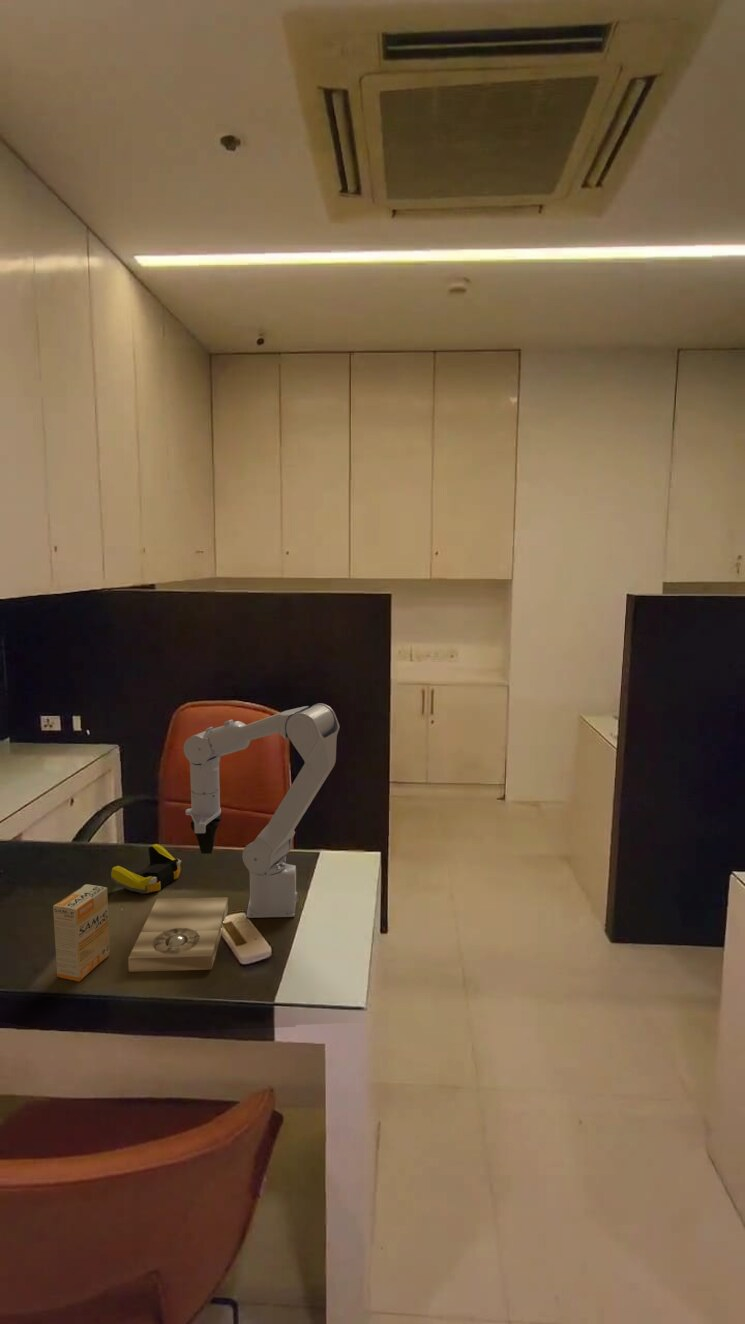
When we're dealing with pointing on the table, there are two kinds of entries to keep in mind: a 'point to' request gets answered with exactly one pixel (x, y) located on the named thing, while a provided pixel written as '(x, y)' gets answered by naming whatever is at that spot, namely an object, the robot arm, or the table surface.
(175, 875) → the gaming controller
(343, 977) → the table surface
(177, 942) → the ball
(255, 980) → the table surface
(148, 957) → the beige flat block
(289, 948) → the table surface
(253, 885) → the robot arm
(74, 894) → the supplement box
